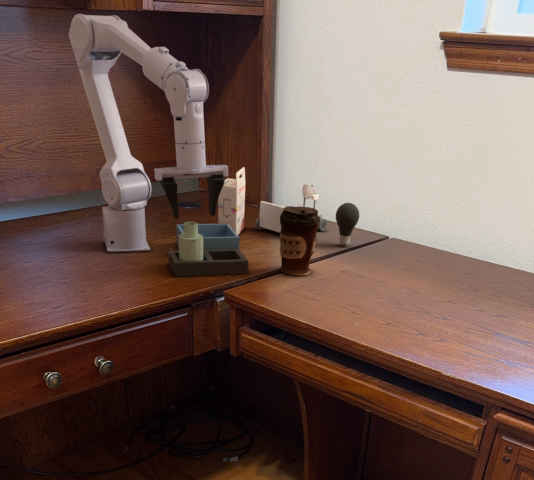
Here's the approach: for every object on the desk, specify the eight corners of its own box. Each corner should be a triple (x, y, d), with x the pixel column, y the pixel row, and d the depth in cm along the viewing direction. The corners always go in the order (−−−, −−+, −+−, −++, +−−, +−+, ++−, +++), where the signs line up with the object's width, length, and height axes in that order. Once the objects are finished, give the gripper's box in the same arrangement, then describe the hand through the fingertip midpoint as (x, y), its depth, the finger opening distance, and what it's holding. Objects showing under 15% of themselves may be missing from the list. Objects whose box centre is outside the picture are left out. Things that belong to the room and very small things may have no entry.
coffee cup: (301, 281, 140) (307, 216, 133) (268, 272, 143) (271, 209, 136) (321, 270, 146) (327, 208, 139) (288, 262, 150) (293, 201, 142)
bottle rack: (175, 276, 138) (174, 263, 136) (168, 263, 144) (168, 250, 143) (247, 273, 142) (248, 260, 140) (238, 261, 148) (238, 248, 147)
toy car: (301, 180, 175) (336, 188, 169) (298, 219, 181) (332, 228, 175) (255, 189, 164) (292, 198, 158) (254, 230, 169) (288, 240, 164)
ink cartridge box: (225, 226, 171) (226, 164, 162) (244, 228, 170) (246, 166, 162) (216, 235, 164) (217, 171, 156) (236, 237, 163) (238, 173, 155)
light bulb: (358, 245, 164) (364, 202, 158) (350, 250, 160) (356, 207, 154) (336, 241, 166) (341, 198, 160) (329, 246, 161) (333, 203, 156)
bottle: (181, 273, 140) (180, 227, 134) (177, 266, 144) (176, 220, 138) (205, 272, 141) (205, 226, 135) (200, 265, 145) (200, 219, 139)
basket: (185, 259, 148) (185, 238, 145) (176, 244, 156) (176, 224, 154) (238, 257, 151) (239, 237, 148) (227, 242, 159) (228, 223, 157)
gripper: (157, 146, 124) (163, 222, 131) (231, 143, 128) (233, 217, 135) (149, 142, 130) (156, 215, 137) (221, 139, 134) (223, 210, 141)
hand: (194, 216), depth 137 cm, fingers open, 7 cm apart
